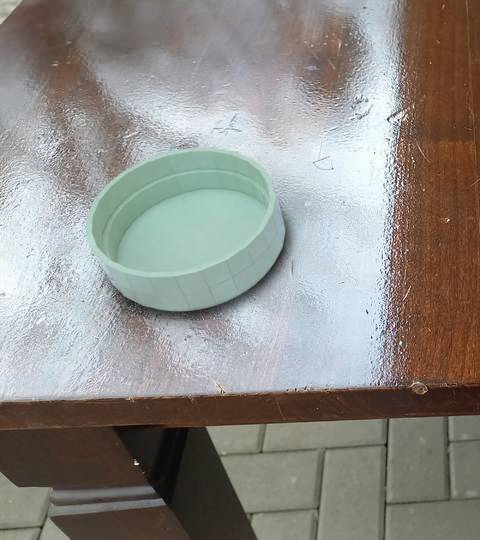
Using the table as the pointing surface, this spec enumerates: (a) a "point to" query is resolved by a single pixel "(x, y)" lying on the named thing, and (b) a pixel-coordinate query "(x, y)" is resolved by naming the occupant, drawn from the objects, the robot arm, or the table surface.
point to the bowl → (187, 228)
